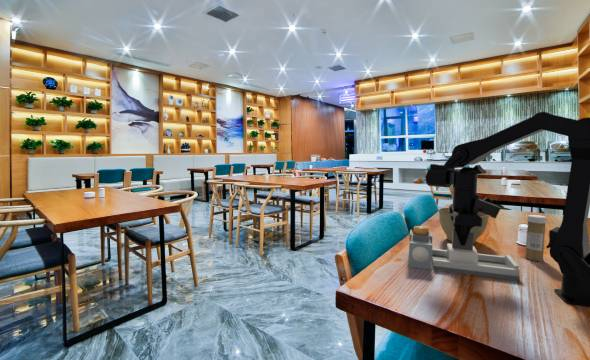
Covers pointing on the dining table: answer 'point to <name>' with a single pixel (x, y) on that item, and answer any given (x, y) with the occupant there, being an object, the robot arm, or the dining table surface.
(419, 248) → the cabinet
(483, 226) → the planter bowl
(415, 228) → the button
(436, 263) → the rail track
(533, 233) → the sprinkles bottle
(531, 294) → the dining table surface
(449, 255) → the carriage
